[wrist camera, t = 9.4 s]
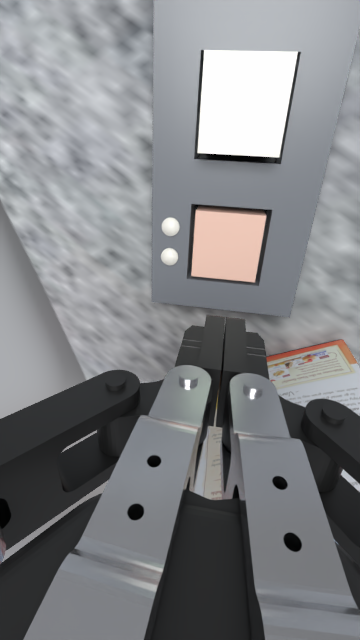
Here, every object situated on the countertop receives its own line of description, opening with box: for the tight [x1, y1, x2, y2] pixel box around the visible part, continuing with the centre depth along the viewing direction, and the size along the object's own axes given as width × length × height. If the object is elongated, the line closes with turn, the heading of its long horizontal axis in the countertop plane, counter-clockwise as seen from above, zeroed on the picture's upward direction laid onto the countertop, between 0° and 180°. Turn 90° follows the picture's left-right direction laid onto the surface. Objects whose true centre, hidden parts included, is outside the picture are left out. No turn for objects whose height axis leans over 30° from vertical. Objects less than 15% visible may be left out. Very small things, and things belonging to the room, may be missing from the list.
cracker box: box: [194, 340, 360, 545], centre depth 24 cm, size 14×6×21 cm, turn 112°
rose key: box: [191, 205, 266, 282], centre depth 26 cm, size 5×5×3 cm
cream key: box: [197, 50, 298, 157], centre depth 20 cm, size 5×5×3 cm
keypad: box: [152, 0, 360, 317], centre depth 22 cm, size 12×29×3 cm, turn 177°
